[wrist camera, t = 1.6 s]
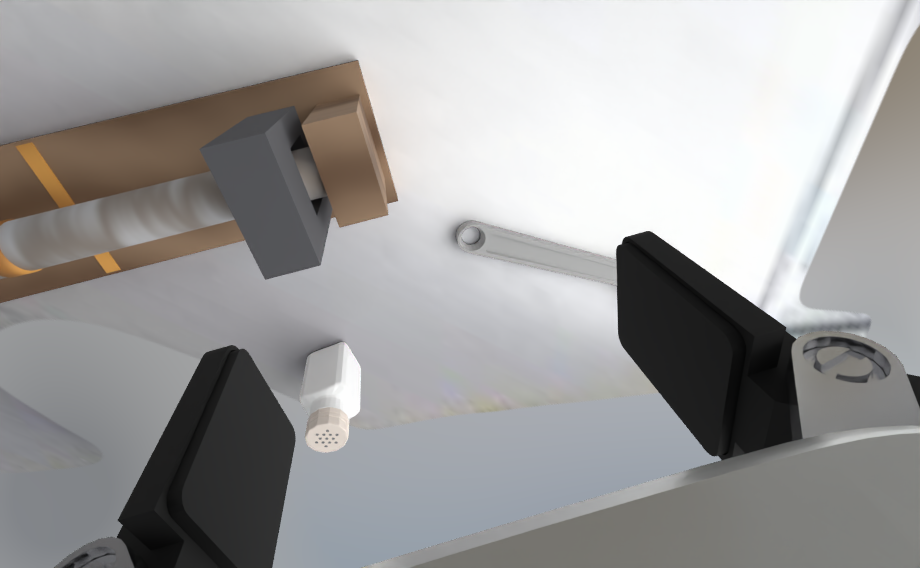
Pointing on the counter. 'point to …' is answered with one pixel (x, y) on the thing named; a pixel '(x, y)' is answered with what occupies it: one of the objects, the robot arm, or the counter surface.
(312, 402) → the salt shaker
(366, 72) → the counter surface
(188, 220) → the pipe stand
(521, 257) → the adjustable wrench
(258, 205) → the collar
